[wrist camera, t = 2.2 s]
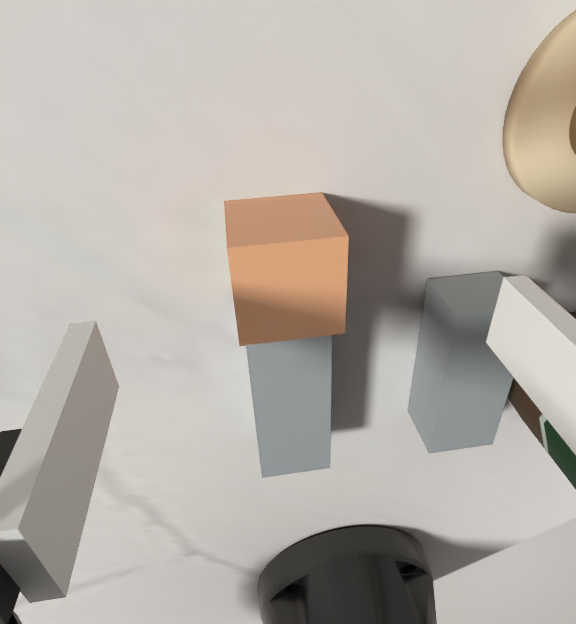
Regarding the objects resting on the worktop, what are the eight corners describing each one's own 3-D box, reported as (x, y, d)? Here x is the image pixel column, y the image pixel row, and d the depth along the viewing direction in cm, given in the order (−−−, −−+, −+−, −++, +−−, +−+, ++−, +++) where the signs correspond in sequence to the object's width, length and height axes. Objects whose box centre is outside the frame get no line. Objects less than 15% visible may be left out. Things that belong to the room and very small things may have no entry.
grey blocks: (465, 402, 30) (492, 444, 27) (257, 431, 29) (262, 477, 26) (498, 271, 24) (536, 305, 22) (241, 299, 23) (245, 339, 20)
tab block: (321, 276, 23) (345, 333, 19) (234, 286, 23) (239, 346, 19) (321, 191, 21) (348, 236, 17) (224, 200, 20) (227, 248, 16)
